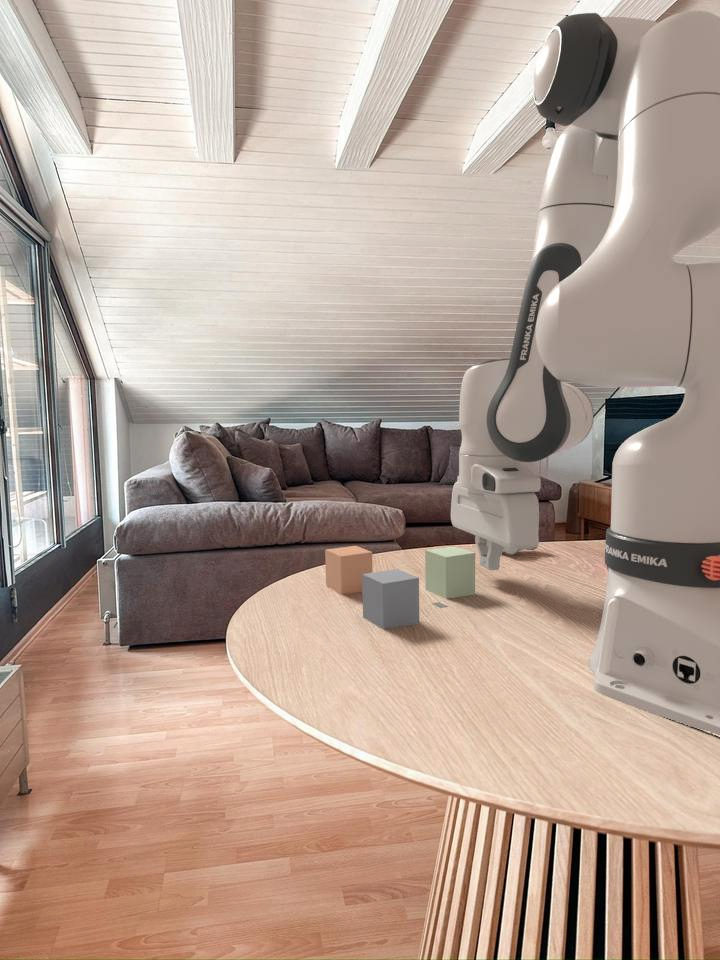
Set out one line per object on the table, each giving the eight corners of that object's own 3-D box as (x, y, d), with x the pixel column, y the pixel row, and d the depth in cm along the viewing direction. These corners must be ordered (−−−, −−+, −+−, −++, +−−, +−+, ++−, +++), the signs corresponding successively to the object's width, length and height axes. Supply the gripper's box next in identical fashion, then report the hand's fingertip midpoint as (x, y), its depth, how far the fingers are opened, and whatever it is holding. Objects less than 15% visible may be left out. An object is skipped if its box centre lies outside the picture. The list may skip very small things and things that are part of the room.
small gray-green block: (447, 607, 84) (447, 606, 84) (440, 608, 84) (440, 607, 84) (438, 603, 86) (438, 602, 86) (431, 604, 85) (431, 603, 85)
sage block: (475, 594, 90) (475, 552, 89) (445, 600, 88) (445, 557, 87) (453, 586, 94) (453, 546, 94) (425, 591, 92) (425, 550, 91)
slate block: (419, 626, 77) (419, 577, 77) (383, 633, 75) (382, 583, 74) (397, 615, 82) (397, 568, 81) (363, 621, 79) (362, 574, 79)
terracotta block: (372, 593, 91) (372, 552, 91) (341, 598, 89) (340, 556, 88) (356, 585, 96) (355, 545, 95) (326, 590, 93) (325, 549, 93)
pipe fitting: (503, 536, 112) (490, 527, 118) (502, 557, 112) (489, 547, 119) (547, 536, 113) (532, 527, 119) (545, 557, 113) (530, 547, 120)
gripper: (440, 468, 101) (441, 554, 103) (505, 482, 82) (504, 587, 83) (477, 467, 103) (476, 551, 105) (548, 480, 84) (546, 583, 85)
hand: (489, 567), depth 94 cm, fingers closed
